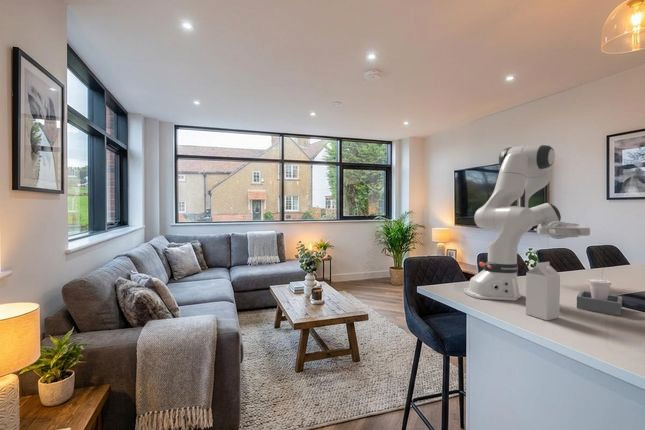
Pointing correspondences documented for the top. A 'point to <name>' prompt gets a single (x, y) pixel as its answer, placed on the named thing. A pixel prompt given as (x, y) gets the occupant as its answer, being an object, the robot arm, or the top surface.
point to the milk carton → (543, 292)
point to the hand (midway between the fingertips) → (569, 231)
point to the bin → (600, 303)
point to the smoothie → (599, 288)
